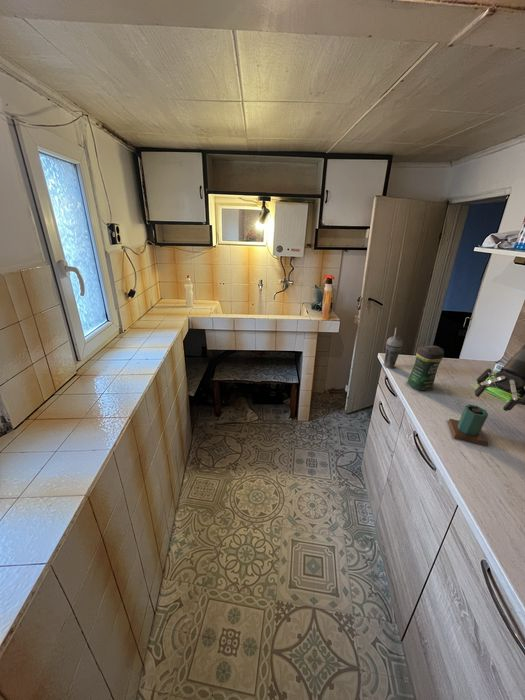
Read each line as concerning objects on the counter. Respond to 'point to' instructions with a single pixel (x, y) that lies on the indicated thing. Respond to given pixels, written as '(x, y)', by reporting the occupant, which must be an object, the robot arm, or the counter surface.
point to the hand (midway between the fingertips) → (489, 402)
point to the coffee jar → (425, 367)
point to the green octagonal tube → (472, 420)
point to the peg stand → (462, 436)
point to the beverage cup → (392, 350)
